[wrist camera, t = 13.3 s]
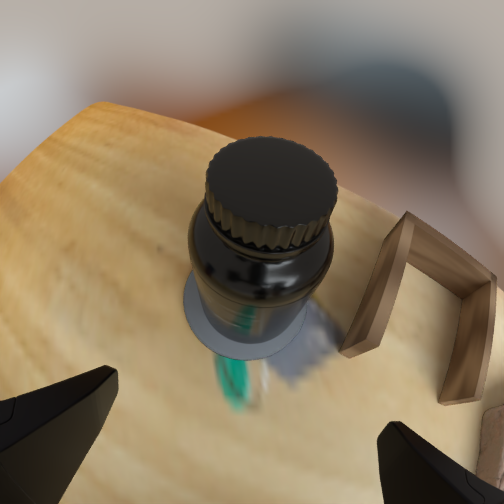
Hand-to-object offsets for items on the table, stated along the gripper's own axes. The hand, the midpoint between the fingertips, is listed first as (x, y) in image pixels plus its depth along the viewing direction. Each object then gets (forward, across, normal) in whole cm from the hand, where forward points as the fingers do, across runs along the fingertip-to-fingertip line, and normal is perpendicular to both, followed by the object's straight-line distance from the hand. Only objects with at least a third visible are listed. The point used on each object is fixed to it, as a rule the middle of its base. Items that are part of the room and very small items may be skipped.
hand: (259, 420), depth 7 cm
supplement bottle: (+13, +1, +1) cm, 13 cm away
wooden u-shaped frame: (+13, -14, 0) cm, 19 cm away
